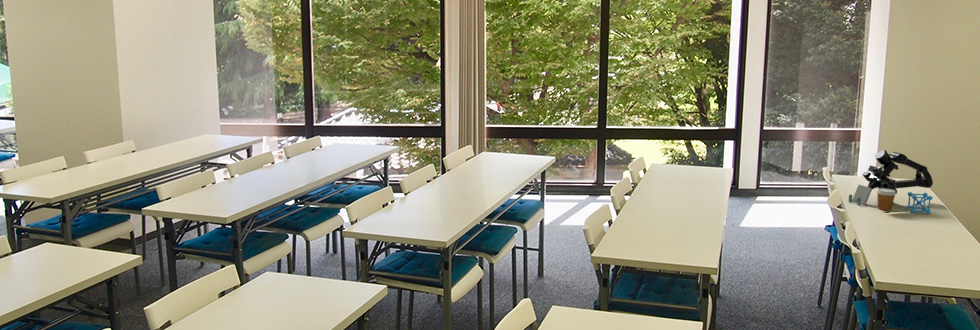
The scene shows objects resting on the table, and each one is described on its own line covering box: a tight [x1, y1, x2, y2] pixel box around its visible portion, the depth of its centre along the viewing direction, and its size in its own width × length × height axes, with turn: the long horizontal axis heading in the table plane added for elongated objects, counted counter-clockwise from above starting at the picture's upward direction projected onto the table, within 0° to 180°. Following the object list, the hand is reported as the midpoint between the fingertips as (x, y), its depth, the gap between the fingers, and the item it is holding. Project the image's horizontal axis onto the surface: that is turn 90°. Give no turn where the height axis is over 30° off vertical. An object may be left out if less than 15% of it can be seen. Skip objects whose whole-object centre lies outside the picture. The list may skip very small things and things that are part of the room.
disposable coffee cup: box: [876, 188, 897, 214], centre depth 425 cm, size 10×10×12 cm
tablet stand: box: [847, 194, 869, 207], centre depth 440 cm, size 10×13×6 cm
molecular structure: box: [906, 191, 933, 215], centre depth 425 cm, size 10×10×10 cm
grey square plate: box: [851, 184, 873, 206], centre depth 439 cm, size 1×10×11 cm, turn 15°
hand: (867, 190), depth 439 cm, fingers closed
